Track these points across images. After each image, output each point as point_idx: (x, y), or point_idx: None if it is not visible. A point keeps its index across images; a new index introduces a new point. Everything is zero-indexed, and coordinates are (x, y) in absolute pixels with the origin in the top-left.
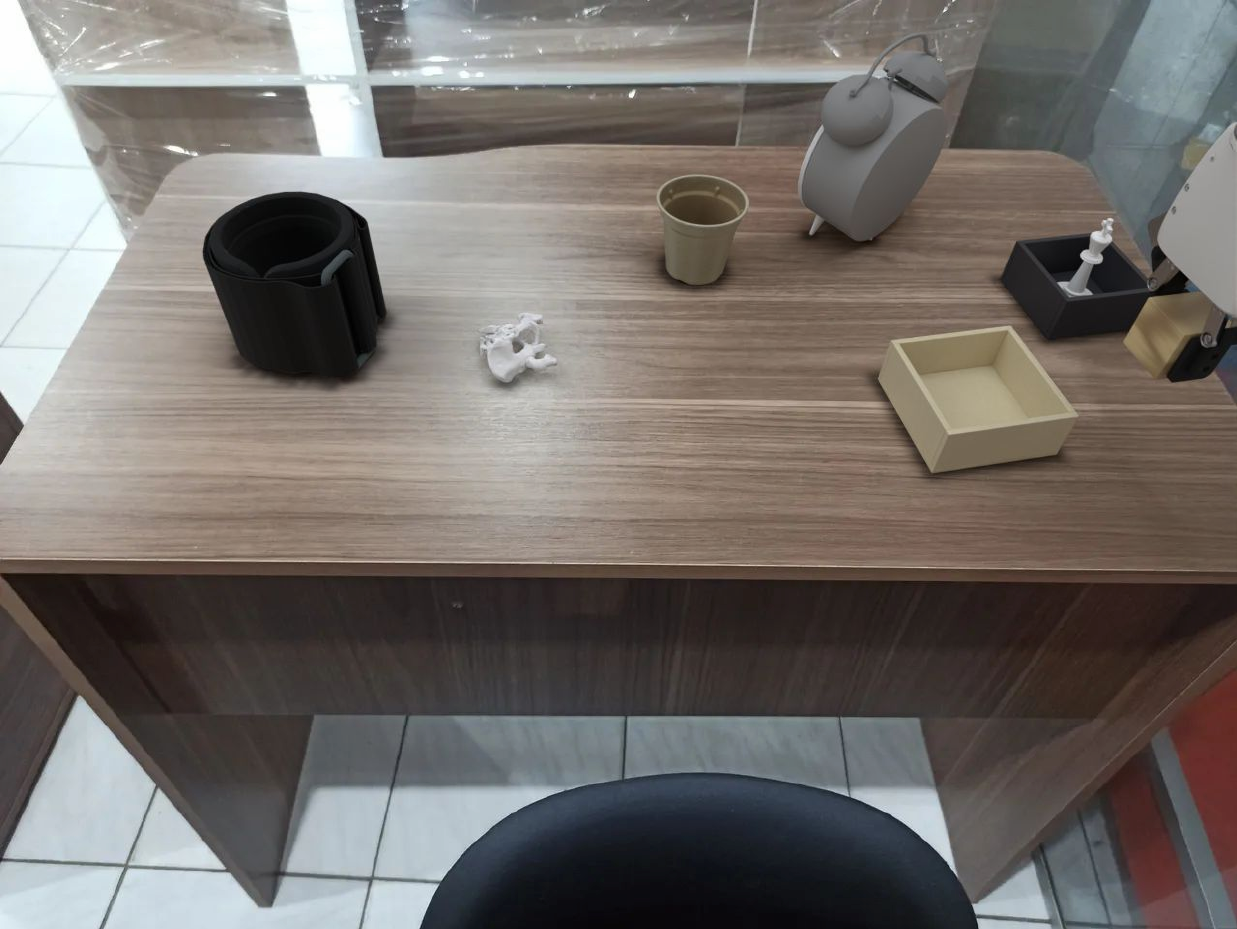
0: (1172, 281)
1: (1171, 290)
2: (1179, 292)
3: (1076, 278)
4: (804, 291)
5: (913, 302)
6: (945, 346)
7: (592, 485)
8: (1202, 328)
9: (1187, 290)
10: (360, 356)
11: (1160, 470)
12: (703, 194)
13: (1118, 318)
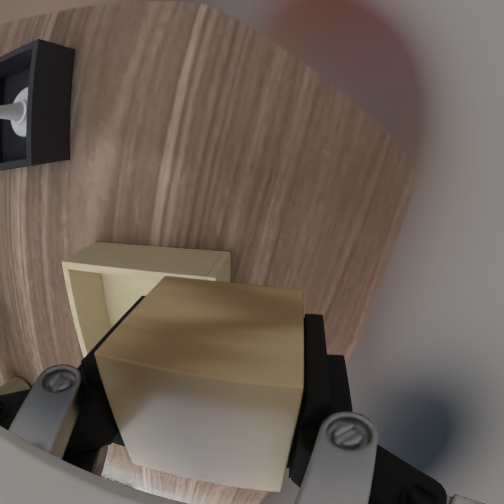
0: (84, 435)
1: (107, 429)
2: (105, 403)
3: (8, 118)
4: (29, 344)
5: (27, 269)
6: (89, 330)
7: (206, 500)
8: (269, 459)
9: (88, 365)
10: None
11: (281, 140)
12: None
13: (58, 77)
